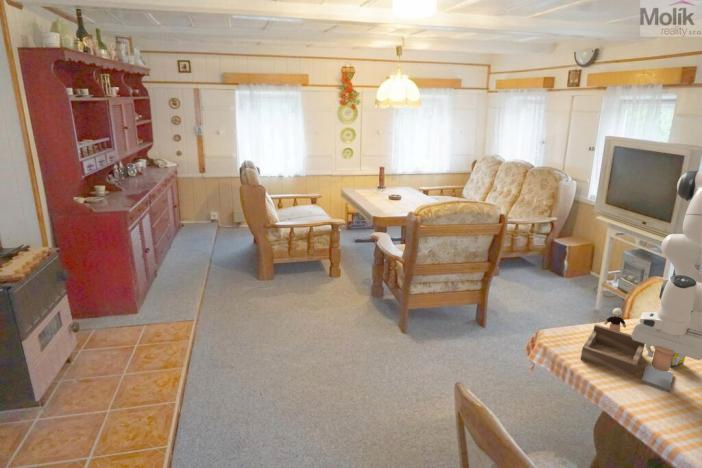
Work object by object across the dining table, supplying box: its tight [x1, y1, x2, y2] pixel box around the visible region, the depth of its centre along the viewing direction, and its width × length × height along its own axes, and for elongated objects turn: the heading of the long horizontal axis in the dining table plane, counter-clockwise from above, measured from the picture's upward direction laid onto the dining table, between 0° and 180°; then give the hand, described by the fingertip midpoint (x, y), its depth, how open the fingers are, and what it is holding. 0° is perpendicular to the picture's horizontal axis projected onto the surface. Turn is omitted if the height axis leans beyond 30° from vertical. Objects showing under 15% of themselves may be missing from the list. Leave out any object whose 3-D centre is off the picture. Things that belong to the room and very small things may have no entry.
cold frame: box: [580, 323, 646, 378], centre depth 167 cm, size 17×17×7 cm
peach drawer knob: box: [650, 346, 676, 372], centre depth 153 cm, size 6×6×8 cm
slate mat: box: [640, 364, 675, 393], centre depth 156 cm, size 11×8×1 cm
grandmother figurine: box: [603, 307, 627, 332], centre depth 179 cm, size 8×4×13 cm, turn 84°
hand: (662, 359), depth 153 cm, fingers closed on peach drawer knob, 6 cm apart
